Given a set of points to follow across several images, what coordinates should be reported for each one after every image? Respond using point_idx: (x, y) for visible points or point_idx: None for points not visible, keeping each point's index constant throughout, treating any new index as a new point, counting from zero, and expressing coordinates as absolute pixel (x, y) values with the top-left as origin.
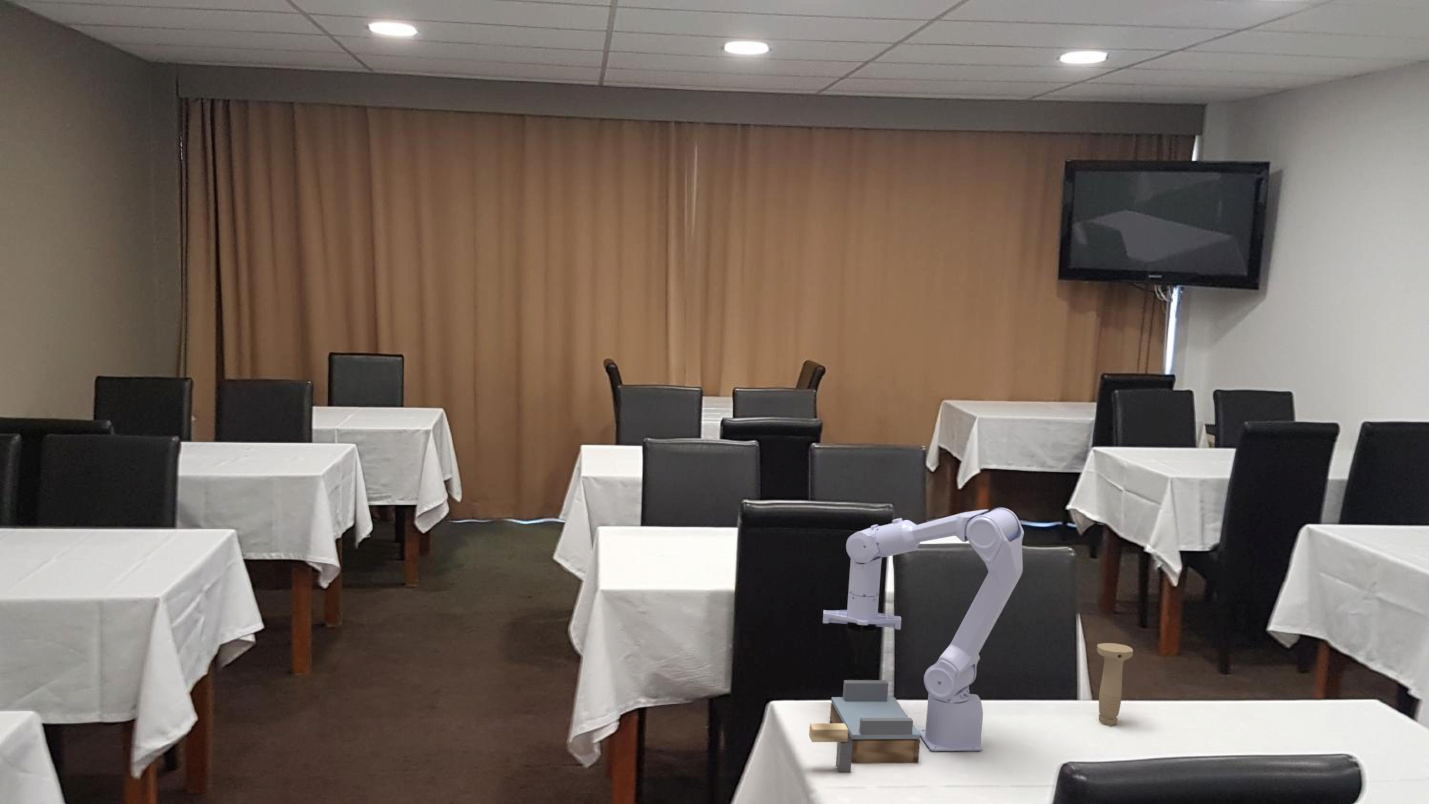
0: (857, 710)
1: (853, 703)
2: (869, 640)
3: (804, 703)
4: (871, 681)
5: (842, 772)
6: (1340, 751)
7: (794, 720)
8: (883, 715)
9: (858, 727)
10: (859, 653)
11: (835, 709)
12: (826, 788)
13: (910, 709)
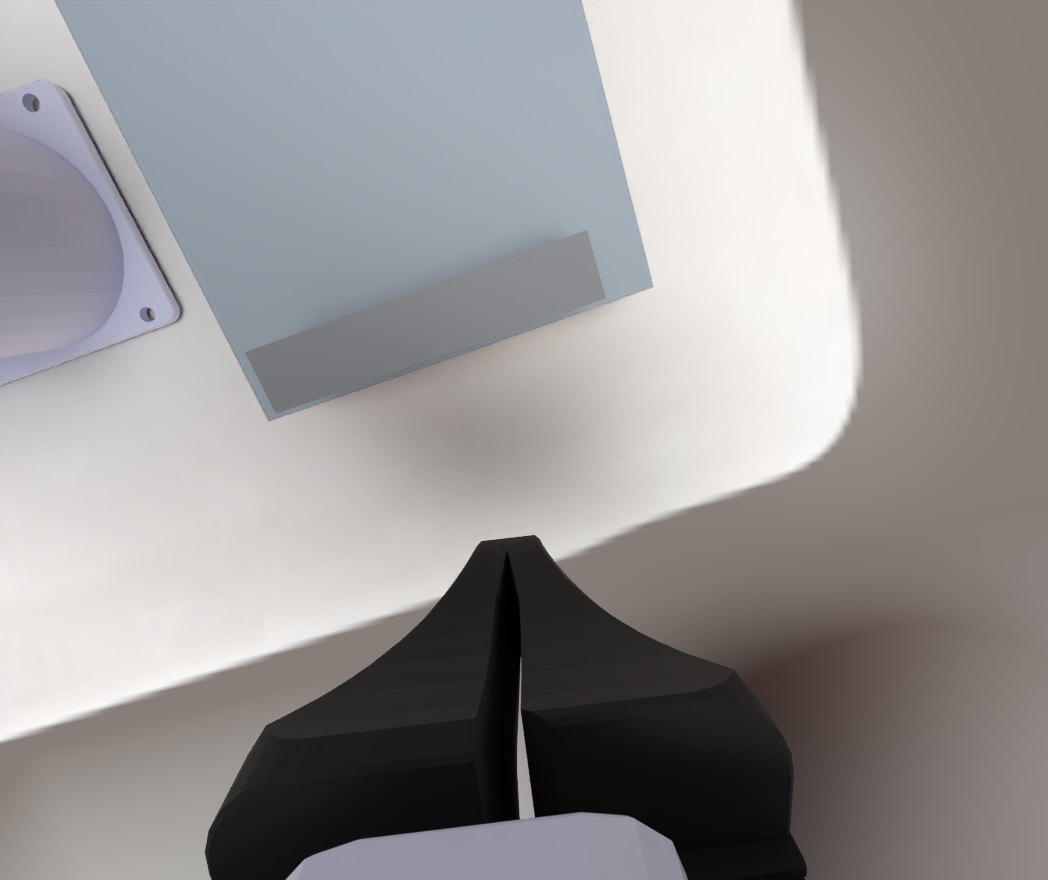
0: (468, 104)
1: (506, 225)
2: (376, 669)
3: (738, 471)
4: (384, 348)
5: None
6: None
7: (785, 262)
8: (279, 70)
9: None
10: (515, 636)
11: None
12: None
13: (270, 562)
